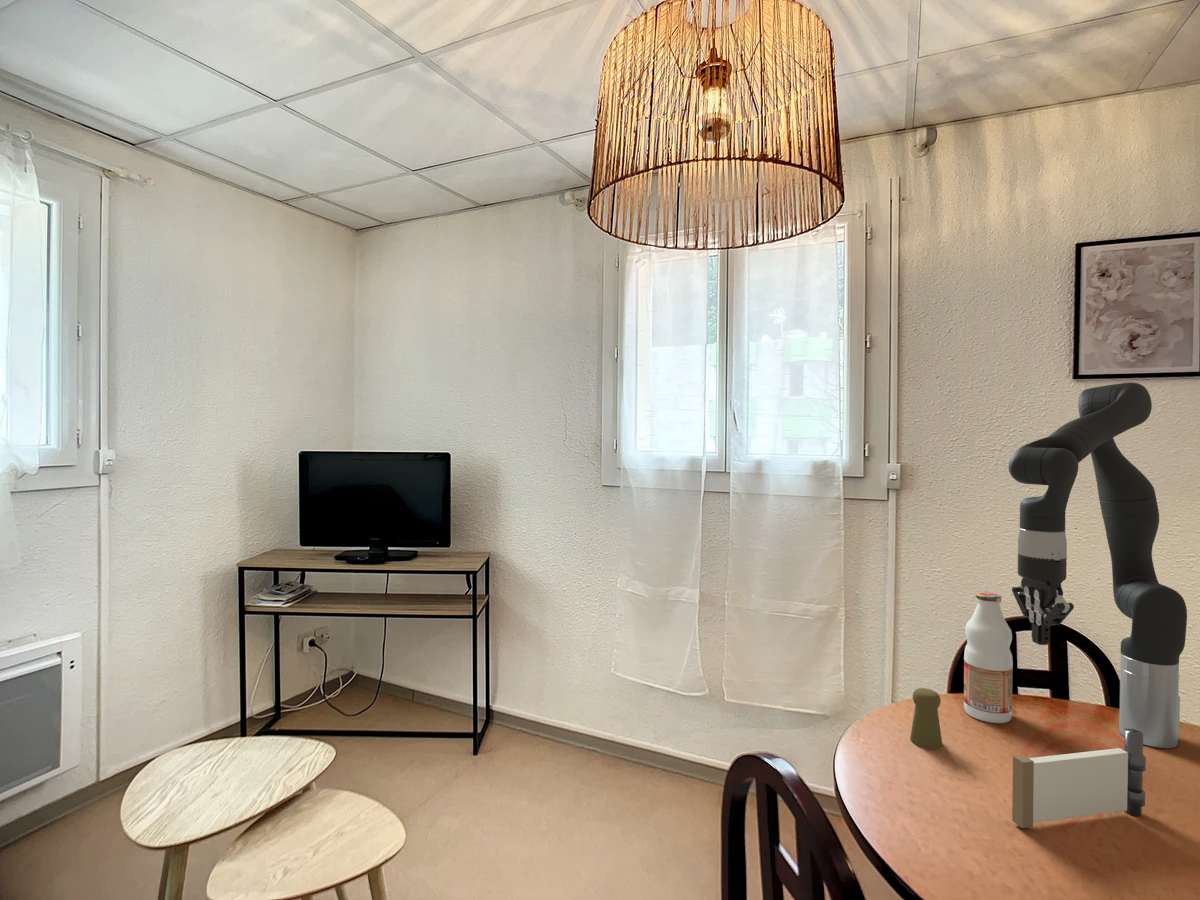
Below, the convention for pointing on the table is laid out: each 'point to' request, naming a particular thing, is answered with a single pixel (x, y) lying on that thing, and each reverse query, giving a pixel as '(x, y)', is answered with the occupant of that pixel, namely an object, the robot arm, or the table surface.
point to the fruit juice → (988, 662)
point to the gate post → (1135, 771)
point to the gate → (1069, 785)
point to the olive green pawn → (926, 719)
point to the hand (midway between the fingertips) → (1040, 643)
